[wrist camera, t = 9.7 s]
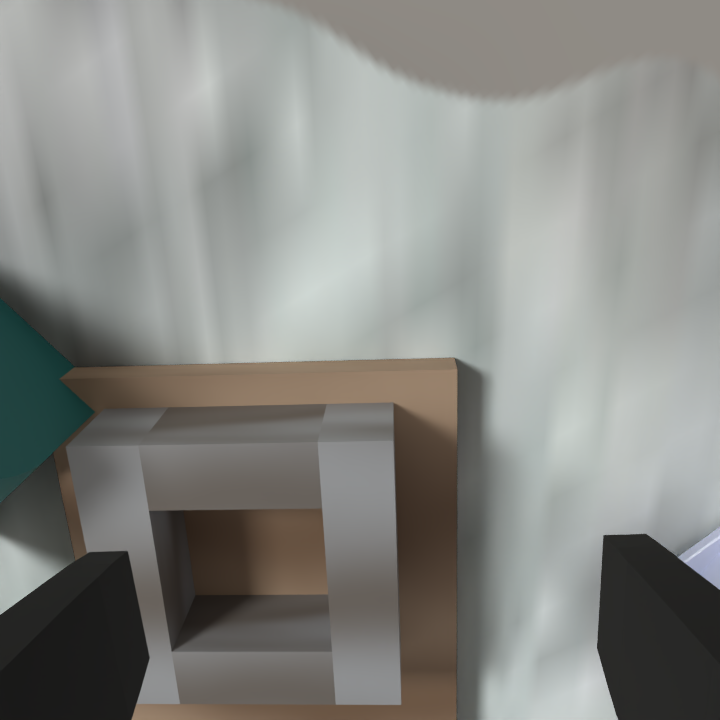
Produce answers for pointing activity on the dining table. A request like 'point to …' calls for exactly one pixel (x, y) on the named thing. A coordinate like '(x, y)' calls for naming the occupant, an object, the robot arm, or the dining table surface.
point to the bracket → (32, 400)
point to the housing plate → (278, 532)
